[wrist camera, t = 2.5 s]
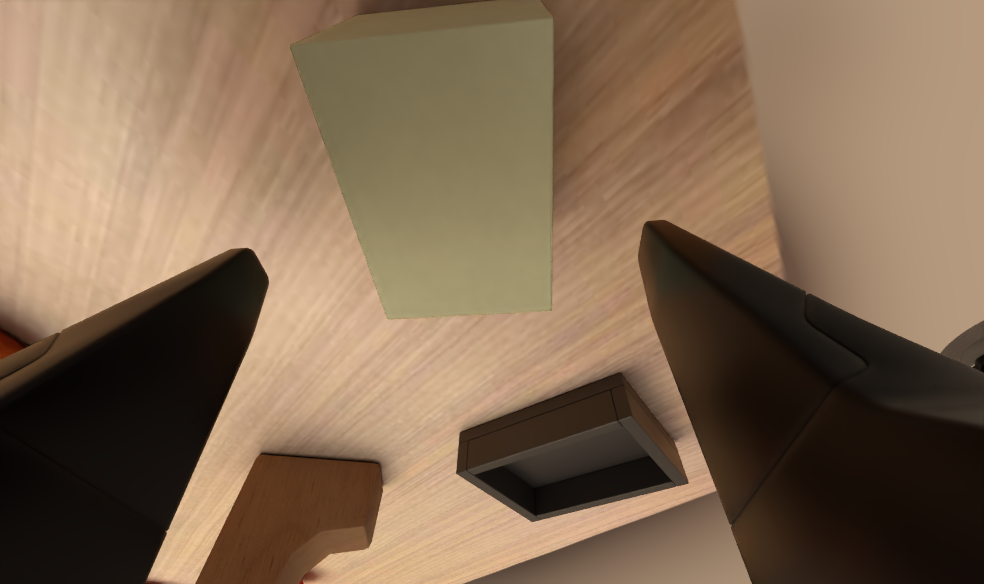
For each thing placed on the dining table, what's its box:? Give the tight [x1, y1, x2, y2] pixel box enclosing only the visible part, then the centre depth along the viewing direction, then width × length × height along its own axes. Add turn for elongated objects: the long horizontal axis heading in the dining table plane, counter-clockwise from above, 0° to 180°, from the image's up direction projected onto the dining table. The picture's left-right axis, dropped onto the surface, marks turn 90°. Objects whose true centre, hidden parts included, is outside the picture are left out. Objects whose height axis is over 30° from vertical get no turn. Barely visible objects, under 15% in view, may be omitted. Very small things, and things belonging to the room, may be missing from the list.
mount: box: [456, 373, 689, 522], centre depth 26 cm, size 12×9×3 cm
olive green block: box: [290, 0, 554, 319], centre depth 13 cm, size 8×6×5 cm
